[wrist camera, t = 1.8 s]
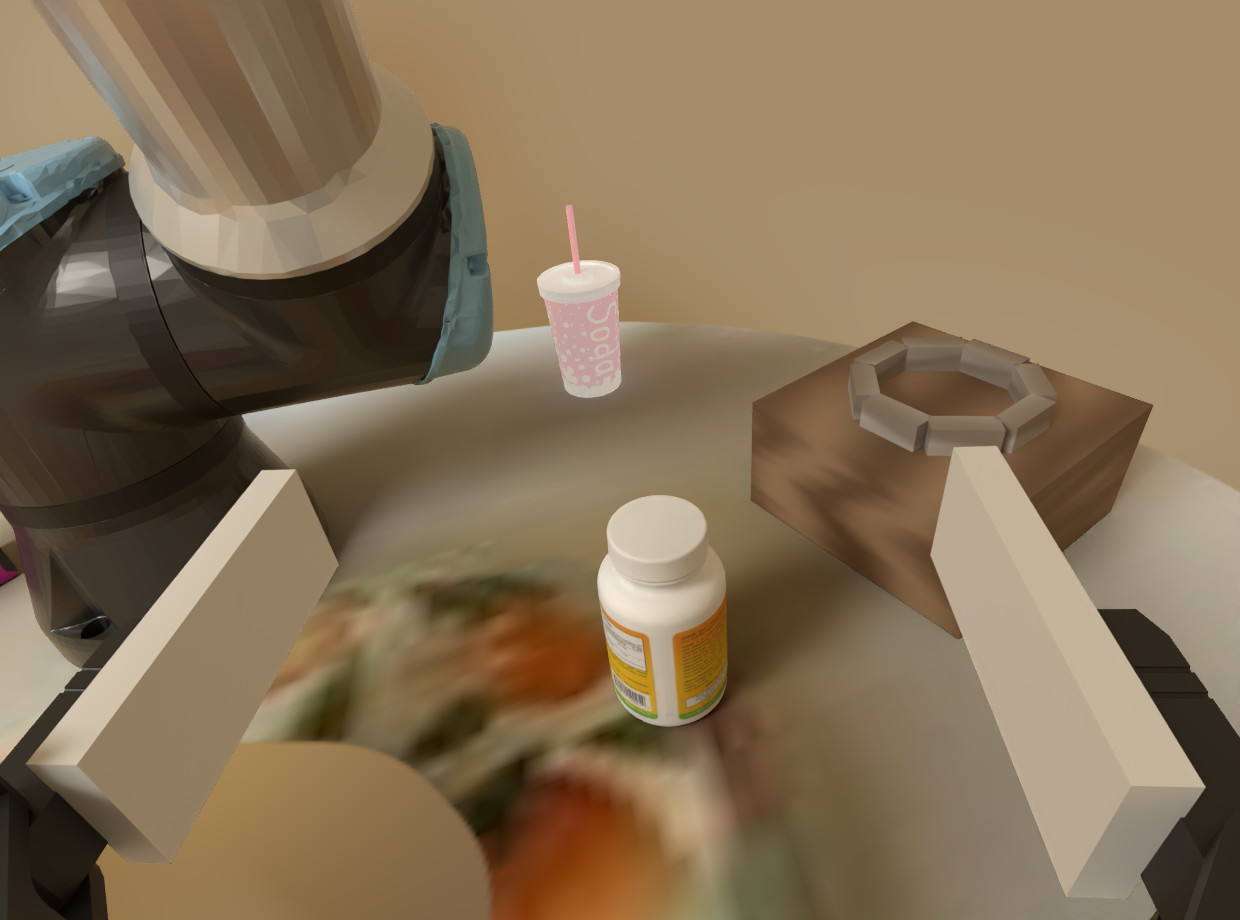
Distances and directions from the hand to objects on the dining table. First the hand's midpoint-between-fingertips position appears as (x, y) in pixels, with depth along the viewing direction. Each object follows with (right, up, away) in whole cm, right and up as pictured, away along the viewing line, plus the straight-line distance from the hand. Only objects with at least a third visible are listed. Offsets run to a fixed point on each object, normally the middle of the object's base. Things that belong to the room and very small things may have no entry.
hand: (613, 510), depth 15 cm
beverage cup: (-2, +7, +43) cm, 43 cm away
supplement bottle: (+3, -10, +19) cm, 21 cm away
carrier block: (+18, -2, +27) cm, 32 cm away
